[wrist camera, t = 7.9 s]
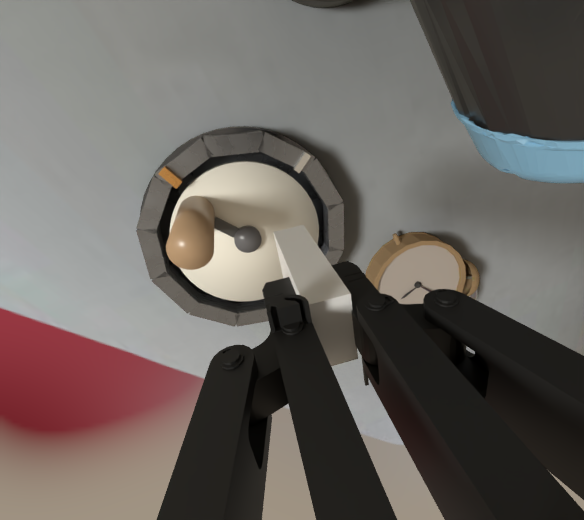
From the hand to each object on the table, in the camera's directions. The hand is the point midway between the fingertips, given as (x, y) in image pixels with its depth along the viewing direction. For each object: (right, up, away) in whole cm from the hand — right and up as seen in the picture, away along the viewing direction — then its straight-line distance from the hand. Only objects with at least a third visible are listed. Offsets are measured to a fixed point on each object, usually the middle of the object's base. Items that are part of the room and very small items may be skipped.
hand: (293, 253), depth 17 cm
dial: (-5, +2, +17) cm, 18 cm away
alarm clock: (+15, -3, +26) cm, 31 cm away
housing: (-5, +3, +18) cm, 19 cm away
